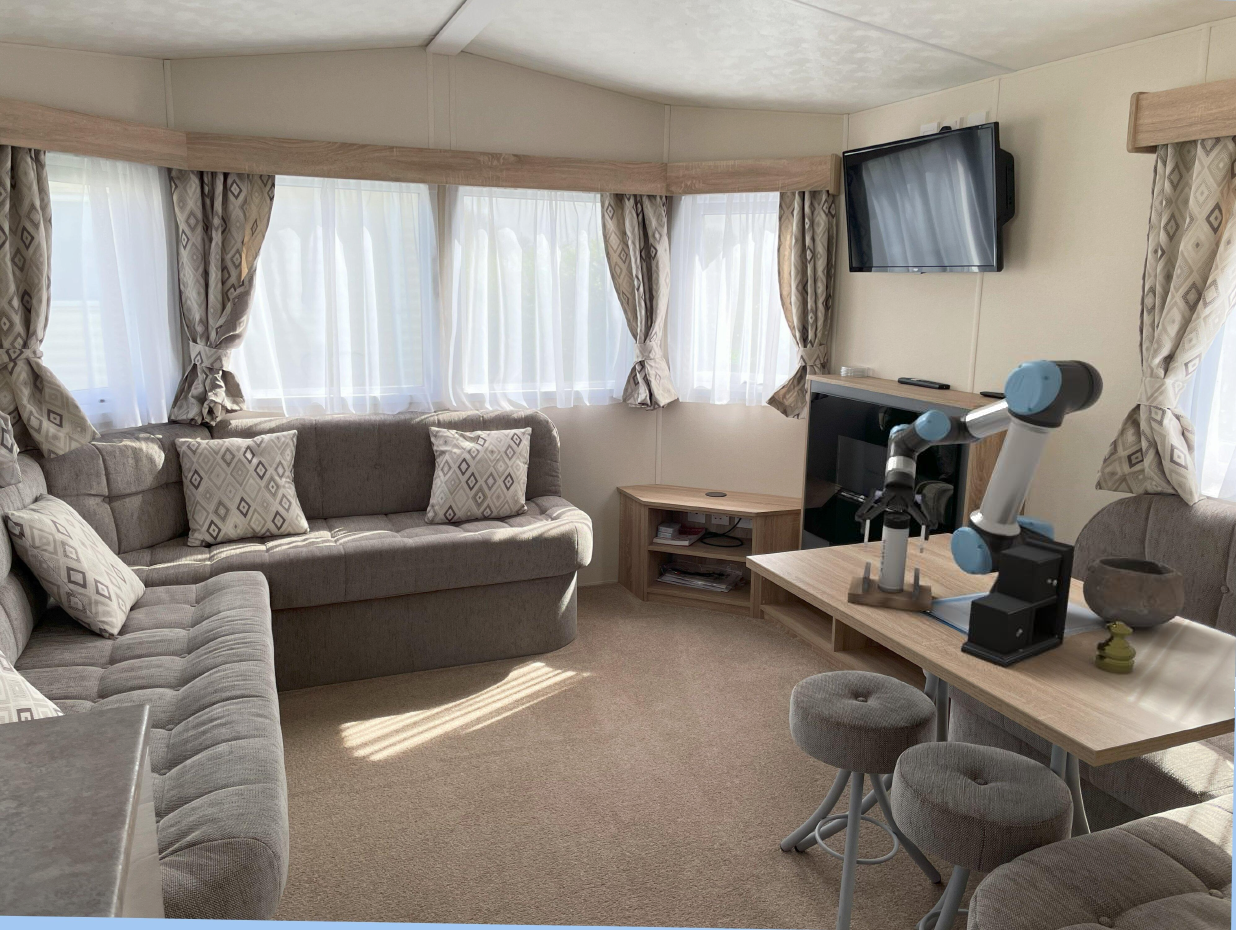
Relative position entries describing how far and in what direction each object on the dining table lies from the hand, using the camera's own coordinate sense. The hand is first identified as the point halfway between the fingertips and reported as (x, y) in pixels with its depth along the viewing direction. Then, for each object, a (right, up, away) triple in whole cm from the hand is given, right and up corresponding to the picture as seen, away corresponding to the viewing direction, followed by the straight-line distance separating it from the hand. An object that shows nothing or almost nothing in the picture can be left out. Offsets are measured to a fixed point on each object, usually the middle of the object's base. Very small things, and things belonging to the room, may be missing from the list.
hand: (893, 547), depth 228 cm
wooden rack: (0, -13, +3) cm, 14 cm away
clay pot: (+54, -18, -10) cm, 57 cm away
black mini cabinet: (+18, -20, -27) cm, 38 cm away
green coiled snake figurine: (+36, -22, -36) cm, 56 cm away
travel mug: (0, -11, +3) cm, 11 cm away
